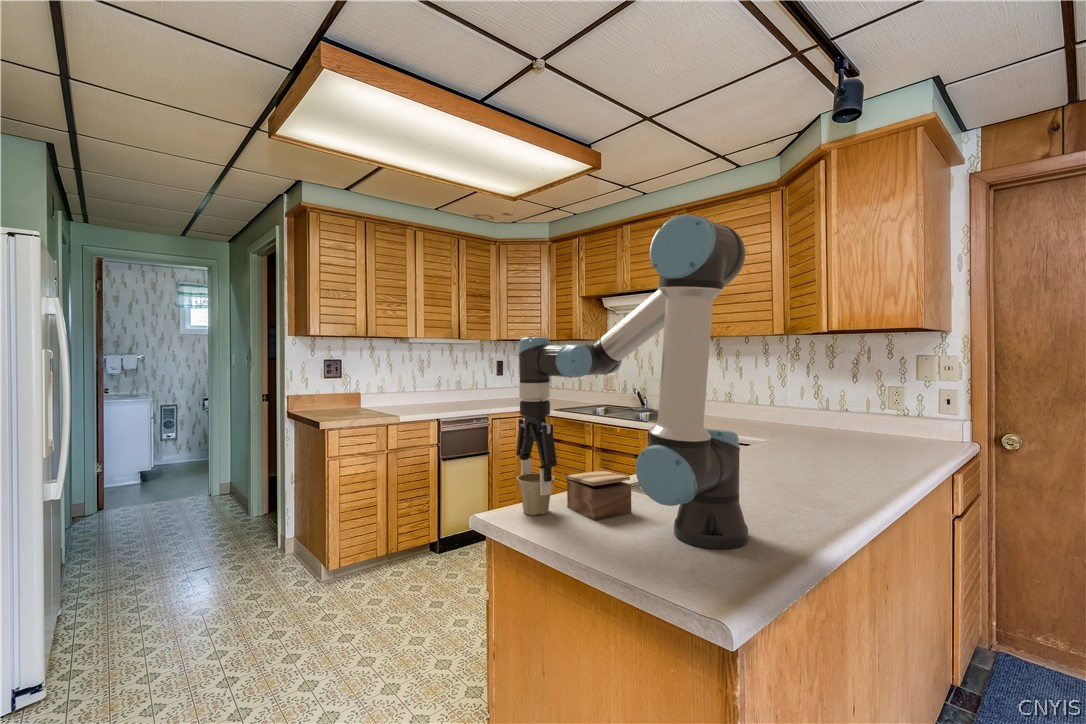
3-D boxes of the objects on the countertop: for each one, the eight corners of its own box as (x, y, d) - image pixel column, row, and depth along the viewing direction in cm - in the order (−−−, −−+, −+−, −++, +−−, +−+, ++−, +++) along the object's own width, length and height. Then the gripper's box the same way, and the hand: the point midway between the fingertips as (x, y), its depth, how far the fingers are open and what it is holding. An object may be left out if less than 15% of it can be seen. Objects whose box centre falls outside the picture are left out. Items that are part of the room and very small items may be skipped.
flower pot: (556, 506, 132) (556, 473, 132) (553, 518, 123) (553, 482, 123) (520, 505, 133) (519, 472, 133) (514, 517, 124) (514, 481, 124)
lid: (630, 481, 126) (629, 476, 126) (593, 487, 121) (593, 482, 121) (600, 474, 137) (599, 469, 137) (565, 479, 132) (565, 475, 132)
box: (631, 512, 126) (631, 484, 126) (594, 520, 121) (594, 491, 121) (602, 500, 137) (602, 474, 137) (567, 507, 131) (567, 480, 131)
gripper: (571, 402, 120) (572, 498, 120) (527, 395, 139) (528, 478, 139) (543, 404, 116) (544, 503, 117) (502, 397, 135) (503, 481, 136)
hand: (535, 489), depth 128 cm, fingers closed on flower pot, 9 cm apart
